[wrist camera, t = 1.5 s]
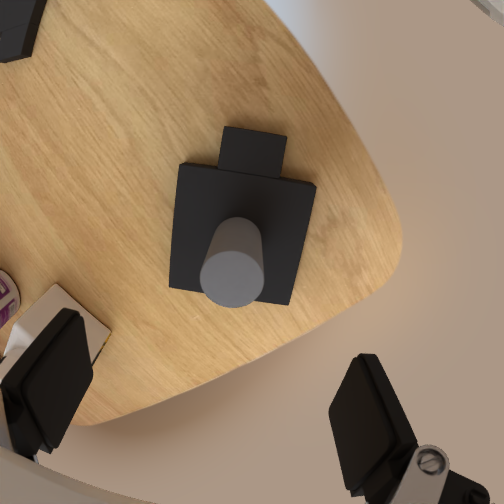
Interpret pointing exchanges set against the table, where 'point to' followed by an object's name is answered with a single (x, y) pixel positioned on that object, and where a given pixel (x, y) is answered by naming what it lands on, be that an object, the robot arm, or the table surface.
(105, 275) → the table surface
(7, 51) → the pad
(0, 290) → the pill bottle
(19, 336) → the medicine bottle
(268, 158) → the pad
